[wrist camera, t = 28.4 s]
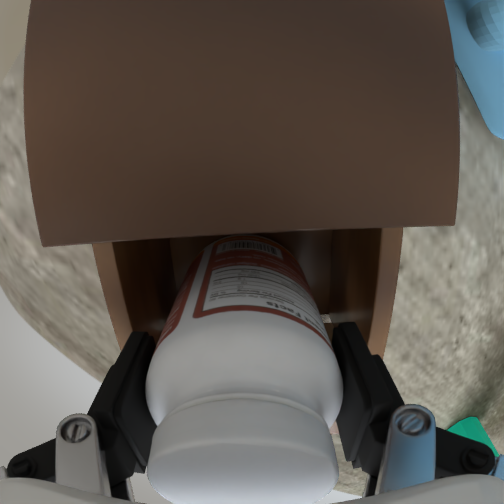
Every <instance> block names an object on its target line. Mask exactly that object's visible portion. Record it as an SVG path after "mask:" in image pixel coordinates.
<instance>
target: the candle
mask: <svg viewBox="0 0 504 504" xmlns="http://www.w3.org/2000/svg"><path fill="white" fill-rule="evenodd" d="M447 431H449V432H452V433H455V434H458V435H461V436H464V437H467V438H469V439H472V440H475V441H478V442H482V443H484V444H486V445H488V446H489V447H490V448H491V449H492V451H493V453H494V455H495V456H496V457H499V454H498V452H497V451H496V449H495V447H494V445H493V444H492V442H491V440H490V438H489V437H488V435H487V433H486V432H485V430H484V428H483V427H482V425H481V423H480V422H479V420H478V418H477V417H468V418H466V419H464V420H461V421H459V422H458V423H456V424H455V425H453V426H452V427H450V428H449V429H448V430H447Z"/></svg>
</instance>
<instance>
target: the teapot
mask: <svg viewBox="0 0 504 504" xmlns="http://www.w3.org/2000/svg"><path fill="white" fill-rule="evenodd" d="M444 2H445V7H446V11H447V16H448V21H449V26H450V32H451V38H452V44H453V50H454V58H455V62H456V64H457V65H458V67H459V69H460V71H461V73H462V75H463V77H464V79H465V81H466V83H467V85H468V87H469V89H470V91H471V94H472V96H473V98H474V100H475V102H476V104H477V106H478V109H479V111H480V113H481V115H482V117H483V119H484V121H485V123H486V125H487V127H488V129H489V130H490V131H491V133H492V134H494V135H496V136H497V137H499V138H501V139H503V140H504V0H444Z"/></svg>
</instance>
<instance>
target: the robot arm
mask: <svg viewBox="0 0 504 504" xmlns="http://www.w3.org/2000/svg"><path fill="white" fill-rule="evenodd" d="M332 348H333V350H334V353H335V356H336V359H337V361H338V365H339V368H340V371H341V374H342V379H343V387H344V390H343V400H342V405H341V408H340V411H339V414H338V416H337V418H336V423H337V427H338V431H339V434H340V438H341V442H342V446H343V450H344V454H345V458H346V461H347V462H348V461H352V465H353V469H354V468H359V467H361V468H362V471H364V472H366V473H368V474H367V479H366V483H365V488H364V492H363V496H362V498H360V499H355V500H349V501H344V502H338V503H332V504H504V455H502V454H500V455H499V457H496V456H495V455H494V453H493V451H492V449H491V448H490V447H489V446H488V445H486V444H484V443H482V442H478V441H475V440H472V439H469V438H467V437H464V436H461V435H458V434H455V433H452V432H449V431H447V430H444V429H441V428H438V427H436V422H435V418H434V416H433V414H432V412H431V411H429V410H428V409H427V408H425V407H423V406H421V405H417V404H406V405H405V404H404V402H403V400H402V398H401V396H400V394H399V392H398V390H397V388H396V386H395V384H394V382H393V380H392V378H391V376H390V374H389V372H388V370H387V368H386V366H385V364H384V362H383V360H382V358H381V357H380V355H378V354H375V355H372V354H371V352H370V350H369V348H368V346H367V344H366V342H365V340H364V338H363V336H362V334H361V332H360V330H359V328H358V326H357V324H356V323H355V322H345V323H339V325H338V327H335V328H333V335H332ZM155 349H156V344H155V340H154V337H153V336H149V333H148V332H139V331H133V332H131V334H130V336H129V338H128V340H127V341H126V343H125V345H124V347H123V349H122V351H121V353H120V355H119V357H118V359H117V361H116V363H115V365H112V366H111V368H110V369H109V371H108V373H107V375H106V377H105V379H104V381H103V383H102V385H101V387H100V389H99V391H98V393H97V395H96V397H95V399H94V401H93V403H92V405H91V407H90V409H89V411H88V413H87V415H86V414H82V413H81V414H73V415H69V416H68V417H66V418H64V419H63V420H62V421H61V422H60V423H59V425H58V427H57V431H56V438H55V439H52V440H50V441H48V442H46V443H43V444H41V445H39V446H36V447H34V448H32V449H29V450H27V451H25V452H22V453H20V454H18V455H16V456H14V457H13V458H12V459H11V460H10V462H9V464H8V467H7V469H6V468H5V467H4V466H2V467H0V504H145V503H138V502H135V499H134V495H133V490H132V486H131V481H130V477H131V476H132V475H133V473H134V472H137V473H143V474H144V473H145V469H146V466H147V465H148V460H149V456H150V450H151V445H152V437H153V434H154V432H155V430H156V428H157V425H156V423H155V421H154V420H153V418H152V416H151V413H150V411H149V408H148V405H147V401H146V393H145V386H146V378H147V373H148V370H149V365H150V362H151V359H152V357H153V354H154V351H155Z"/></svg>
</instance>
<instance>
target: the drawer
mask: <svg viewBox="0 0 504 504" xmlns="http://www.w3.org/2000/svg"><path fill="white" fill-rule="evenodd" d="M250 234H252V235H258V236H262V237H265V238H268V239H271V240H273V241H275V242H277V243H279V244H280V245H282V246H283V247H284V248H286V249H287V250H288V251H289V252H290V253H291V254H292V255H293V256H294V257H295V259H296V260H297V261H298V263H299V265H300V266H301V268H302V270H303V272H304V274H305V277H306V280H307V282H308V285H309V287H310V290H311V293H312V295H313V298H314V300H315V303H316V305H317V308H318V310H319V313H320V315H321V314H329V317H330V319H331V322H332V323H323V324H324V326H325V329H326V332H327V335H328V337H329V340H330V342H331V345H332V335H333V328H335V327H338V325H339V323H345V322H355V323H356V324H357V326H358V328H359V330H360V332H361V334H362V336H363V338H364V340H365V342H366V344H367V346H368V348H369V350H370V352H371V354H372V355H375V354H378V355H380V357H381V358H382V360H383V356H384V352H385V347H386V342H387V337H388V333H389V327H390V322H391V317H392V311H393V305H394V299H395V293H396V286H397V279H398V272H399V264H400V255H401V246H402V236H403V227H392V228H363V229H337V230H313V231H291V232H270V233H250ZM231 235H238V234H231ZM231 235H213V236H196V237H180V238H164V239H148V240H134V241H119V242H105V243H92V247H93V251H94V256H95V260H96V265H97V269H98V273H99V277H100V281H101V285H102V289H103V293H104V297H105V300H106V304H107V308H108V311H109V314H110V318H111V321H112V325H113V328H114V331H115V334H116V337H117V341H118V344H119V347H120V350H121V351H122V349H123V347H124V345H125V343H126V341H127V340H128V338H129V336H130V334H131V332H133V331H139V332H148V333H149V336H153V337H154V340H155V344H156V346H157V344H158V341H159V339H160V336H161V333H162V331H163V328H164V326H165V324H166V321H167V319H168V316H169V314H170V311H171V309H172V307H173V304H174V301H175V299H176V297H177V294H178V292H179V289H180V287H181V285H182V282H183V279H184V277H185V275H186V272H187V270H188V268H189V266H190V265H191V263H192V262H193V260H194V259H195V257H196V256H197V255H198V254H199V253H200V252H201V251H202V250H203V249H204V248H205V247H207V246H208V245H210V244H211V243H213V242H215V241H217V240H219V239H221V238H224V237H227V236H231ZM329 430H330V434H331V435H332V434H339V431H338V427H337V423H336V420H335V422H334V423H333V425H332V426H331V428H330V429H329Z"/></svg>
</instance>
